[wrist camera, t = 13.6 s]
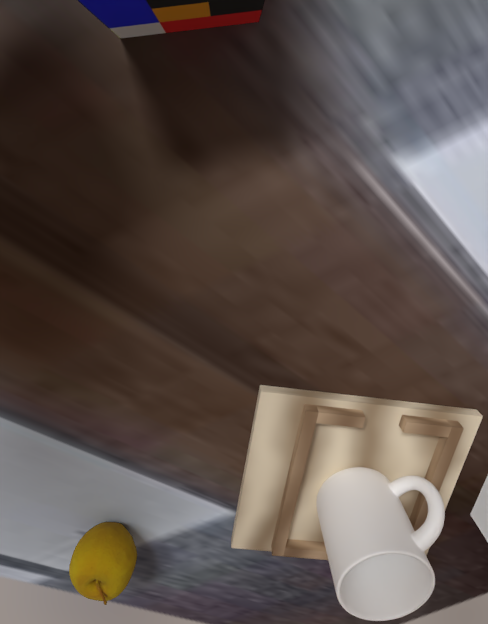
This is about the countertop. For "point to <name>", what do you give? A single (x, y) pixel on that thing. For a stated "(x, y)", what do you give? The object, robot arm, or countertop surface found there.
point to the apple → (103, 561)
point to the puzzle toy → (171, 14)
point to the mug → (378, 542)
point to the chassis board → (339, 460)
